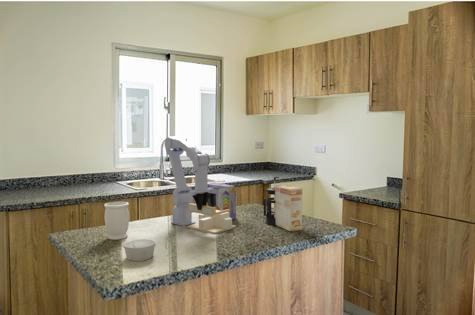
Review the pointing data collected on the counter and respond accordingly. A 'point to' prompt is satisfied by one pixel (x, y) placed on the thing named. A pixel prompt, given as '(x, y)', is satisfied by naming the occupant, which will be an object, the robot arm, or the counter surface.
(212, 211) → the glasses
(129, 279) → the counter surface
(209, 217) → the stand
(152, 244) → the ramekin
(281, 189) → the coffeecake box
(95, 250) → the counter surface
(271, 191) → the french press
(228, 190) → the cake pan box
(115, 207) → the jar
